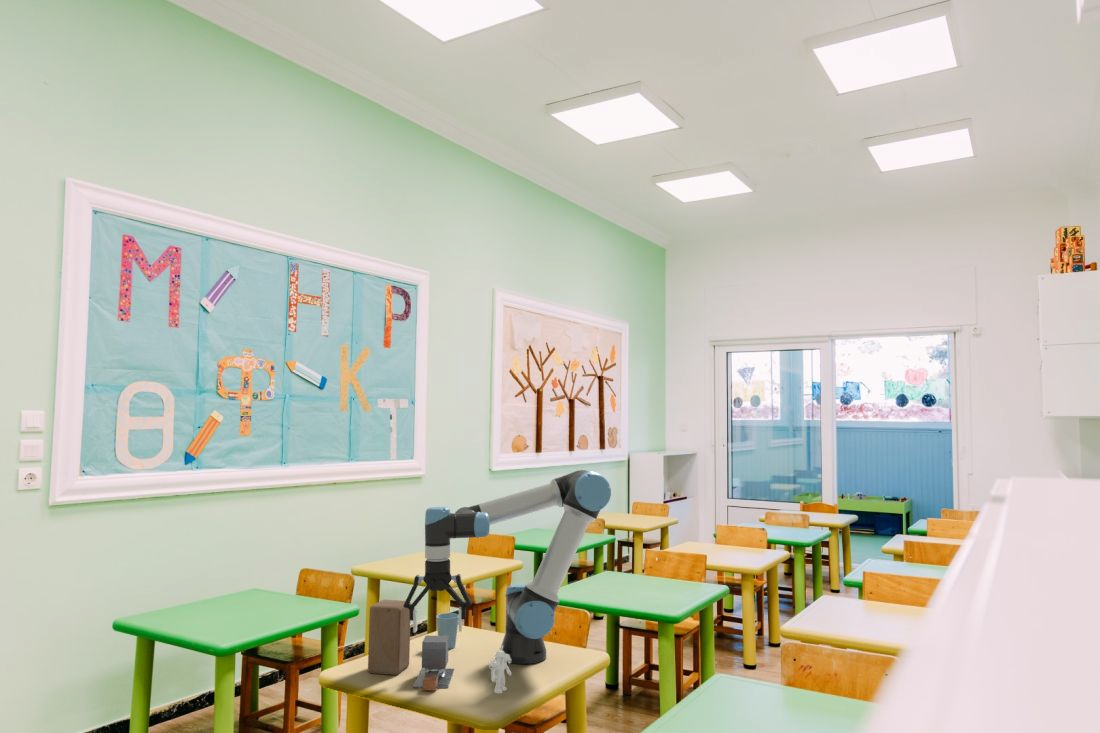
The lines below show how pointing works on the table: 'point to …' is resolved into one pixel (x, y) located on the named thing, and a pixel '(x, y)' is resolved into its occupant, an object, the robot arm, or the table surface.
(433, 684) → the lever
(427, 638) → the grey metal cube
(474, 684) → the table surface
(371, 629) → the wooden block
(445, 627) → the cup
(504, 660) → the hat wearing toy figure
